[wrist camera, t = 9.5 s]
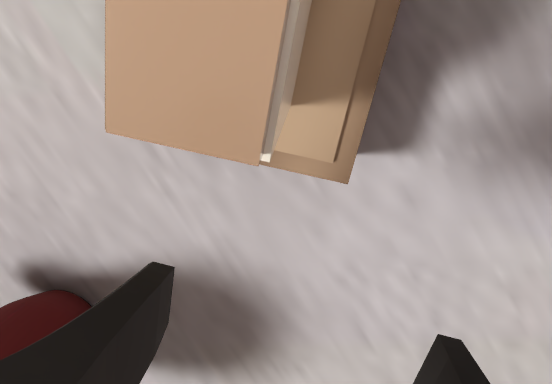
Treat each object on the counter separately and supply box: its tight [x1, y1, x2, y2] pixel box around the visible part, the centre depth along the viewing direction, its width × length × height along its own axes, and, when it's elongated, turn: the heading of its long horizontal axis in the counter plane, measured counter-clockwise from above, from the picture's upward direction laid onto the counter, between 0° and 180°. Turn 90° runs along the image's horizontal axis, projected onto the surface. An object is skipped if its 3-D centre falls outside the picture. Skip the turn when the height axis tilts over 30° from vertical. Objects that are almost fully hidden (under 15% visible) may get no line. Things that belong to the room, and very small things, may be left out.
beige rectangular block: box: [106, 0, 312, 166], centre depth 13 cm, size 4×4×6 cm
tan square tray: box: [105, 0, 401, 184], centre depth 17 cm, size 10×10×3 cm
